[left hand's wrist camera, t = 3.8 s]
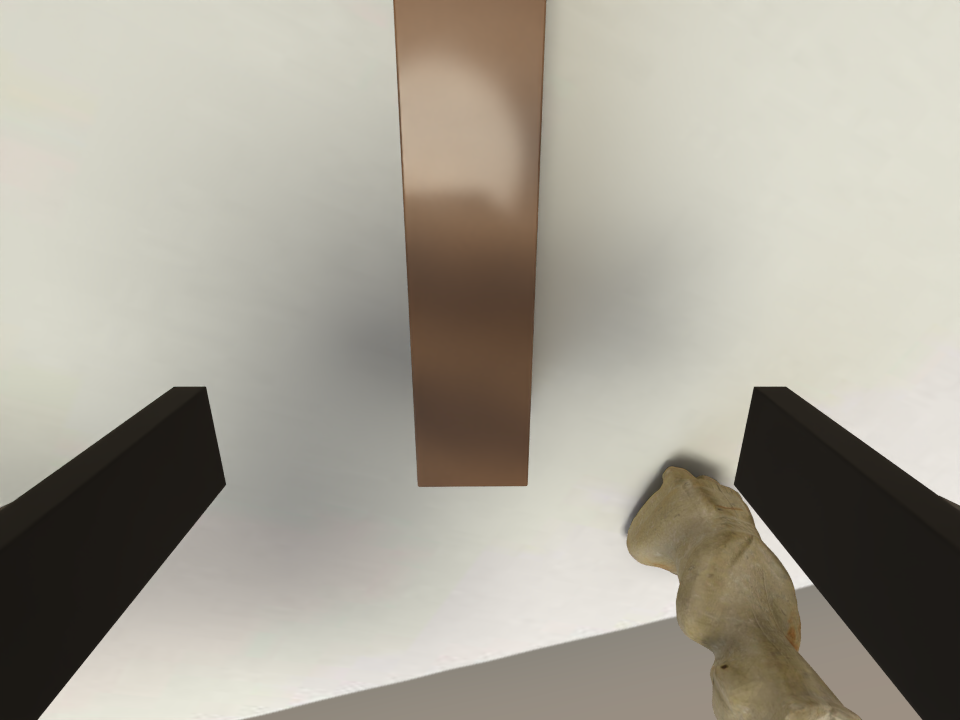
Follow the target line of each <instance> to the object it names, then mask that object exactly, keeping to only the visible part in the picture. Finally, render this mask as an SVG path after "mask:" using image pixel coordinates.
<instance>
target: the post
mask: <svg viewBox="0 0 960 720" xmlns="http://www.w3.org/2000/svg"><path fill="white" fill-rule="evenodd" d="M393 5H394V25H395V44H396V64H397V84H398V104H399V124H400V144H401V163H402V183H403V203H404V223H405V243H406V262H407V282H408V302H409V322H410V342H411V361H412V381H413V401H414V421H415V441H416V461H417V480H418V486H419V487H453V486H527V485H528V461H529V435H530V409H531V383H532V357H533V331H534V305H535V280H536V254H537V228H538V202H539V176H540V150H541V124H542V99H543V73H544V47H545V21H546V0H393Z"/></svg>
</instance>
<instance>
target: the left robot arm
mask: <svg viewBox="0 0 960 720" xmlns="http://www.w3.org/2000/svg"><path fill="white" fill-rule="evenodd" d="M225 485H226V482H225V477H224V472H223V467H222V462H221V457H220V453H219V448H218V443H217V438H216V433H215V428H214V423H213V419H212V414H211V409H210V404H209V399H208V394H207V389H206V387H173V388H172V389H170V390H169V391H167V392H166V393H165V394H163V395H162V396H160V397H159V398H158V399H156V400H155V401H153V402H152V403H151V404H149V405H148V406H146V407H145V408H144V409H142V410H141V411H139V412H138V413H137V414H135V415H134V416H132V417H131V418H130V419H128V420H127V421H125V422H124V423H123V424H121V425H120V426H118V427H117V428H116V429H114V430H113V431H111V432H110V433H109V434H107V435H106V436H104V437H103V438H102V439H100V440H99V441H97V442H96V443H95V444H93V445H92V446H90V447H89V448H88V449H86V450H85V451H83V452H82V453H81V454H79V455H78V456H76V457H75V458H74V459H72V460H71V461H69V462H68V463H67V464H65V465H64V466H62V467H61V468H60V469H58V470H57V471H55V472H54V473H53V474H51V475H50V476H48V477H47V478H46V479H44V480H43V481H41V482H40V483H39V484H37V485H36V486H34V487H33V488H32V489H30V490H29V491H27V492H26V493H25V494H23V495H22V496H20V497H19V498H18V499H16V500H15V501H13V502H11V503H9V504H7V505H5V506H3V507H1V508H0V720H38V719H39V717H40V716H41V715H42V714H43V712H44V711H45V710H46V709H47V707H48V706H49V705H50V704H51V702H52V701H53V700H54V699H55V697H56V696H57V695H58V694H59V692H60V691H61V690H62V689H63V687H64V686H65V685H66V684H67V682H68V681H69V680H70V679H71V677H72V676H73V675H74V674H75V672H76V671H77V670H78V669H79V667H80V666H81V665H82V664H83V662H84V661H85V660H86V659H87V657H88V656H89V655H90V654H91V652H92V651H93V650H94V649H95V647H96V646H97V645H98V644H99V642H100V641H101V640H102V639H103V637H104V636H105V635H106V634H107V632H108V631H109V630H110V629H111V628H112V626H113V625H114V624H115V623H116V621H117V620H118V619H119V618H120V616H121V615H122V614H123V613H124V611H125V610H126V609H127V608H128V606H129V605H130V604H131V603H132V601H133V600H134V599H135V598H136V596H137V595H138V594H139V593H140V591H141V590H142V589H143V588H144V586H145V585H146V584H147V583H148V581H149V580H150V579H151V578H152V576H153V575H154V574H155V573H156V571H157V570H158V569H159V568H160V566H161V565H162V564H163V563H164V561H165V560H166V559H167V558H168V556H169V555H170V554H171V553H172V551H173V550H174V549H175V548H176V546H177V545H178V544H179V543H180V541H181V540H182V539H183V538H184V536H185V535H186V534H187V533H188V532H189V530H190V529H191V528H192V527H193V525H194V524H195V523H196V522H197V520H198V519H199V518H200V517H201V515H202V514H203V513H204V512H205V510H206V509H207V508H208V507H209V505H210V504H211V503H212V502H213V500H214V499H215V498H216V497H217V495H218V494H219V493H220V492H221V490H222V489H223V488H224V487H225ZM734 485H735V487H736V488H737V489H738V490H739V492H740V493H741V494H742V495H743V497H744V498H745V499H746V500H747V502H748V503H749V504H750V505H751V507H752V508H753V509H754V510H755V512H756V513H757V514H758V515H759V517H760V518H761V519H762V520H763V522H764V523H765V524H766V525H767V527H768V528H769V529H770V530H771V532H772V533H773V534H774V535H775V536H776V538H777V539H778V540H779V541H780V543H781V544H782V545H783V546H784V548H785V549H786V550H787V551H788V553H789V554H790V555H791V556H792V558H793V559H794V560H795V561H796V563H797V564H798V565H799V566H800V568H801V569H802V570H803V571H804V573H805V574H806V575H807V576H808V578H809V579H810V580H811V581H812V583H813V584H814V585H815V586H816V588H817V589H818V590H819V591H820V593H821V594H822V595H823V596H824V597H825V599H826V600H827V601H828V603H829V604H830V605H831V606H832V608H833V609H834V610H835V611H836V613H837V614H838V615H839V616H840V617H841V619H842V620H843V621H844V623H845V624H846V625H847V626H848V628H849V629H850V630H851V631H852V632H853V634H854V635H855V636H856V637H857V639H858V640H859V641H860V642H861V644H862V645H863V646H864V647H865V649H866V650H867V651H868V652H869V654H870V655H871V656H872V657H873V659H874V660H875V661H876V662H877V664H878V665H879V666H880V667H881V669H882V670H883V671H884V672H885V674H886V675H887V676H888V677H889V679H890V680H891V681H892V682H893V684H894V685H895V686H896V687H897V689H898V690H899V691H900V692H901V694H902V695H903V696H904V697H905V699H906V700H907V701H908V702H909V704H910V705H911V706H912V707H913V709H914V710H915V711H916V712H917V714H918V715H919V716H920V717H921V718H922V720H960V505H957V504H955V503H953V502H951V501H949V500H947V499H945V498H943V497H941V496H938V495H937V494H935V493H934V492H933V491H931V490H930V489H928V488H927V487H926V486H924V485H923V484H921V483H920V482H919V481H917V480H916V479H914V478H913V477H912V476H910V475H909V474H907V473H906V472H905V471H903V470H902V469H900V468H899V467H898V466H896V465H895V464H893V463H892V462H891V461H889V460H888V459H886V458H885V457H884V456H882V455H881V454H879V453H878V452H877V451H875V450H874V449H872V448H871V447H870V446H868V445H867V444H865V443H864V442H863V441H861V440H860V439H858V438H857V437H856V436H854V435H853V434H851V433H850V432H849V431H847V430H846V429H844V428H843V427H842V426H840V425H839V424H837V423H836V422H835V421H833V420H832V419H830V418H829V417H828V416H826V415H825V414H823V413H822V412H821V411H819V410H818V409H816V408H815V407H814V406H812V405H811V404H809V403H808V402H807V401H805V400H804V399H802V398H801V397H800V396H798V395H797V394H795V393H794V392H793V391H791V390H790V389H788V388H787V387H754V389H753V394H752V399H751V404H750V409H749V414H748V419H747V423H746V428H745V433H744V438H743V443H742V448H741V453H740V457H739V462H738V467H737V472H736V477H735V482H734Z"/></svg>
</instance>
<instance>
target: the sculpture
mask: <svg viewBox="0 0 960 720" xmlns="http://www.w3.org/2000/svg"><path fill="white" fill-rule="evenodd" d="M662 479H663V484H662V486H661V488H660V489H659V490H658V491H657V492H655V493H654V494H653V495H652V496H651V497H650V498H649V499H648V500H647V502H646V503H645V504H644V505H643V506H642V508H641V509H640V510H639V512H638V513H637V515H636V517H635V518H634V519H633V521H632V523H631V526H630V528H629V530H628V535H627V547H628V551H629V553H630V554H631V556H632V557H633V558H634V559H636V560H637V561H638V562H640V563H641V564H644V565H648V566H654V567H660V568H663V569H665V570H668V571H670V572H671V573H673V574H676V575H678V578H679V583H680V585H679V589H678V593H677V599H676V613H677V620H678V624H679V626H680V628H681V629H682V631H683V632H684V634H685V635H687V636H688V637H689V638H690V639H692V640H693V641H695V642H697V643H699V644H701V645H702V646H704V647H706V648H708V649H709V650H711V651H712V652H713V653H714V655H715V661H714V664H713V666H712V668H711V672H710V676H711V680H712V684H713V696H712V706H713V710H714V714H715V716H716V718H717V720H862V719H861V718H860V717H859V716H858V715H857V714H855V713H854V712H852V711H851V710H849V709H847V708H846V707H844V706H843V704H842V703H841V702H840V701H839V700H838V698H837V697H836V696H835V695H834V694H833V692H832V691H831V690H830V689H829V688H828V686H827V685H826V684H825V683H824V682H823V680H822V679H821V678H820V677H819V676H818V674H817V673H816V672H815V671H814V670H813V669H812V667H811V666H810V665H809V664H808V663H807V662H806V661H805V660H804V658H803V657H802V656H801V655H800V654H799V653H798V651H799V646H800V640H801V622H800V616H799V612H798V608H797V599H796V596H795V590H794V586H793V583H792V580H791V578H790V576H789V574H788V572H787V571H786V569H785V568H784V566H783V565H782V563H781V562H780V560H779V559H778V558H777V556H776V555H775V554H774V553H773V552H772V551H771V550H770V549H769V548H768V547H767V546H766V545H765V543H764V542H763V541H762V540H761V538H760V535H759V533H758V531H757V529H756V527H755V524H754V520H753V517H752V515H751V512H750V510H749V508H748V506H747V505H746V503H744V502H743V500H742V498H741V496H740V495H739V493H738V492H736V491H735V490H733V489H731V488H729V487H726V486H723V485H720V484H719V483H718V482H717V481H716V480H714V479H712V478H710V477H708V476H705V475H701V476H698V477H694V476H693V475H692V474H691V473H690V472H689V471H687V470H686V469H683V468H679V467H673V466H671V467H668V468H667V469H666V470H665V472H664V473H663V476H662Z"/></svg>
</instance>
